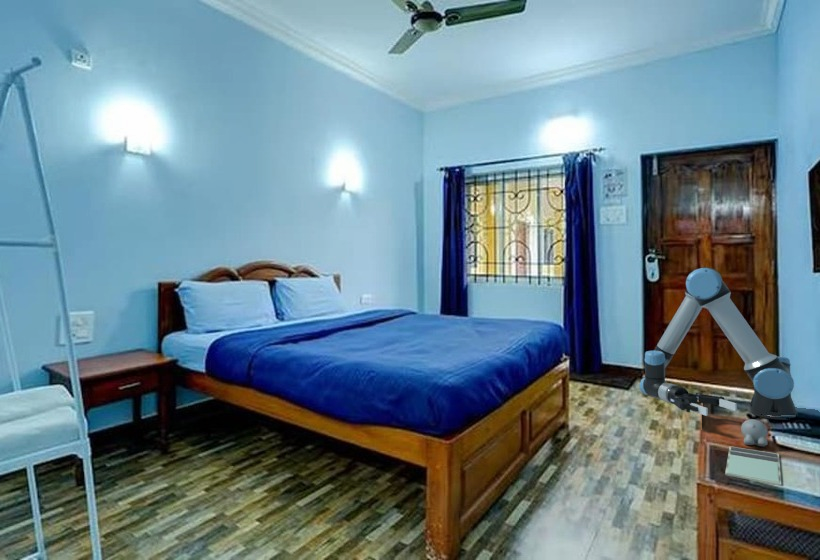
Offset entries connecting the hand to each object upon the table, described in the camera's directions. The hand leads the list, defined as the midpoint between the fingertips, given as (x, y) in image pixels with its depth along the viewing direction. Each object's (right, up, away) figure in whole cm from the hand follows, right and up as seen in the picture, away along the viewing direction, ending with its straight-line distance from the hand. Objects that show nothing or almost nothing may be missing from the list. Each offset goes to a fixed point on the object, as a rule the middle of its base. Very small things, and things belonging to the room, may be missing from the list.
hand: (721, 409), depth 171 cm
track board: (-8, -10, -26) cm, 29 cm away
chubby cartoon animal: (+4, -9, -10) cm, 14 cm away
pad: (-10, -10, -29) cm, 32 cm away
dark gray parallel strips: (-3, -9, -20) cm, 22 cm away
